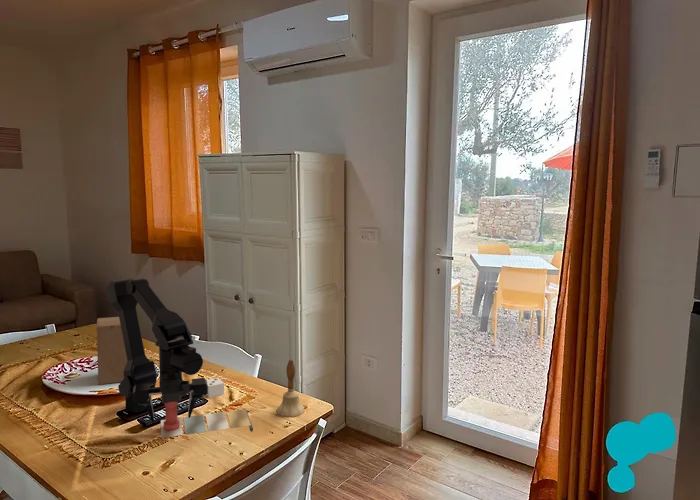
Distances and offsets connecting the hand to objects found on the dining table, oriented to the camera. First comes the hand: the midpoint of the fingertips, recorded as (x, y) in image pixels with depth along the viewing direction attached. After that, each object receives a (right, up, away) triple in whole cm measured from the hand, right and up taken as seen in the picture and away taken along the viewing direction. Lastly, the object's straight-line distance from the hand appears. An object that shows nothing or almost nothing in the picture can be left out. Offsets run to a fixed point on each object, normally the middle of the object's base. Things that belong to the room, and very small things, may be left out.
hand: (171, 419), depth 135 cm
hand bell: (+30, -3, +16) cm, 34 cm away
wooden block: (-31, +2, +34) cm, 46 cm away
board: (+8, -3, +4) cm, 10 cm away
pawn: (0, -2, 0) cm, 2 cm away
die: (+5, -1, +23) cm, 23 cm away
